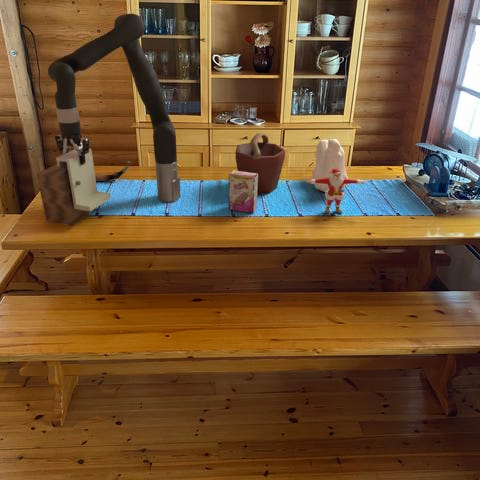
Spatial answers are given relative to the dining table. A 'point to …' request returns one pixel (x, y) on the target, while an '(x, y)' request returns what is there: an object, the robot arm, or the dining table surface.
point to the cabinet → (58, 196)
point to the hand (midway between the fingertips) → (75, 163)
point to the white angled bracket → (83, 181)
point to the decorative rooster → (328, 162)
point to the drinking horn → (112, 176)
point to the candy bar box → (243, 191)
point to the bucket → (261, 162)
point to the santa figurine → (335, 188)
